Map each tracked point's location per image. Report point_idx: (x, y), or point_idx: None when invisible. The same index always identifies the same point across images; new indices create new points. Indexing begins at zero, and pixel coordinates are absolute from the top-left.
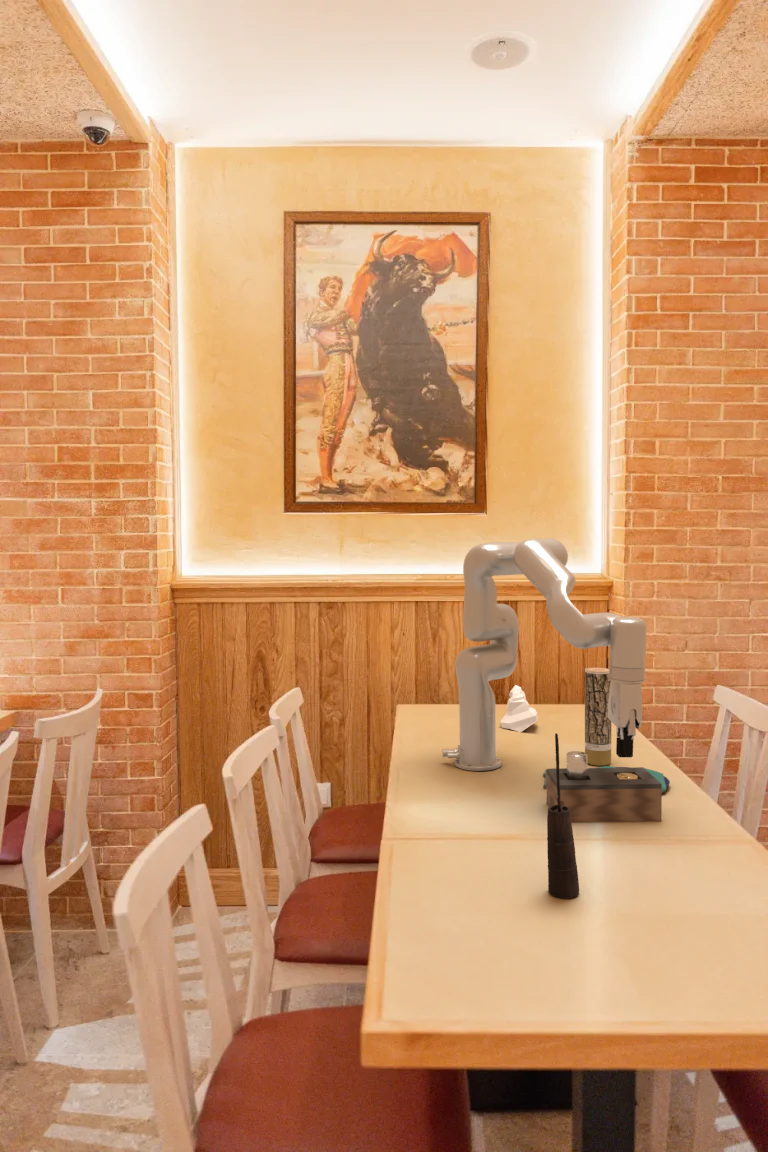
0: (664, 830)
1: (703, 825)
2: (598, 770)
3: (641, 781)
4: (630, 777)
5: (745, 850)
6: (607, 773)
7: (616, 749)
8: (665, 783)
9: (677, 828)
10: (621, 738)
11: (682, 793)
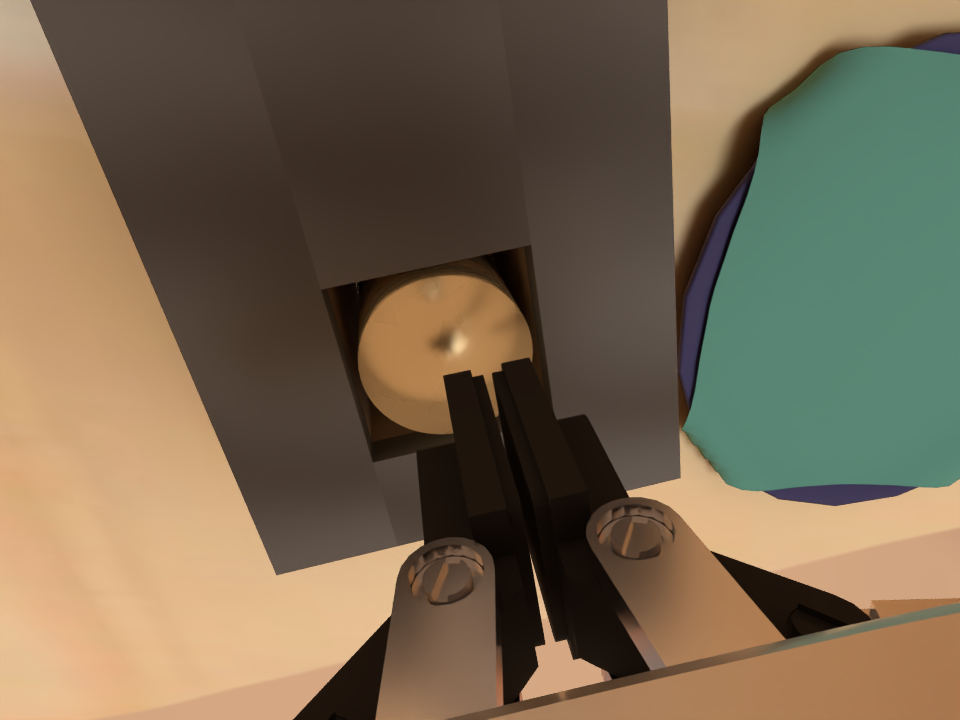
0: (151, 429)
1: (288, 584)
2: (585, 111)
3: (303, 455)
4: (401, 382)
5: (12, 699)
6: (491, 195)
7: (532, 387)
8: (822, 484)
9: (206, 486)
10: (401, 579)
11: (725, 530)
